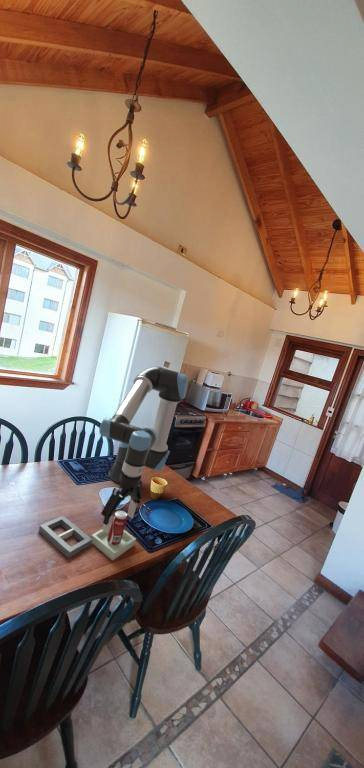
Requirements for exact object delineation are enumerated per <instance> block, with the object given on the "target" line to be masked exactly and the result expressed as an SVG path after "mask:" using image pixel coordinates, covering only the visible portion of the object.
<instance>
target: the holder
mask: <svg viewBox="0 0 364 768" xmlns="http://www.w3.org/2000/svg"><path fill="white" fill-rule="evenodd" d="M59 526H61V527H63V529H64V530H66V531H64V532H62V533H60V534H57V533H55V531H54V530H52V529H55V528H56V527H59ZM38 532H39V533H40V534H41V535H42V536H43V537H45V538H46V539H47V540H48V541H49V542H50V543H51V544H52V545H53V546H54V547H55V548H57V550H58V551H60V552H61V553H62V554H63V555H64V556H65V557H66V558H67V559H70V558H72V557H73V556H74V555H77V554H78V553H80V552H81V551H83V550H85V549H86V548H88V547H90V546H91V545H92V543H91V542H92V539H91V537H90V536H89V535H87V534H86V533H85V532H83V530H82V529H80V528H79V527H78V526H77V525H76V524H74V523H73V522H72V521H70V520H69V519H68V518H67V517H66V516H65V515H61V516H58V517H56V518H52V519H51V520H49V521H46V522H45V523H42V524H40V525H39V528H38ZM71 536H73V537H74V538H75V539H77V540H78V541H79V542H77V543H75V544H74V545H72V546H70V544H68V543H67V542H66V541H65V540H66V539H68V538H70V537H71Z"/></svg>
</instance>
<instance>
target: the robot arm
mask: <svg viewBox="0 0 364 768" xmlns="http://www.w3.org/2000/svg"><path fill="white" fill-rule="evenodd" d="M188 383H189V377H188V376H187V374H183V373H181V372H178V371H174V370H173V369H172V370H171V369H168V368H163V367H162V366H150V367H147V368H146V369H143V370H142V371H140V372H139V373H138V374H136V376H135V377H134V379H133V385H132V386H131V388H130V389H129V391H128V393H127V394H126V396H125V397H124V399H123V400H122V401H121V403H120V405H119V406H118V408H117V409H116V411H115V412H114V414H113V416H112V417H105V418H103V419H102V420H101V423H100V426H99V435H100V436H102V437H104V438H107V439H110V440H114V441H116V442H119V444H118V446H119V447H118V449H117V453H116V456H115V457H116V458H115V461H114V463H113V465H112V466H111V467H110V469H109V471H108V477H110V478H109V479H110V480H111V481H112V482H114V483H116V484H120V485H119V487H118V488H117V487H114V488H113V490H112V493H111V495H110V496H109V498H108V500H107V502H106V503H105V505H104V508H103V509H102V510H101V512H100V515H102V516H103V523H102V527H101V529H102V530H104V531H105V532H106V533H108V532H109V529H110V525H111V523H112V520H113V516H114V514H115V512H116V511H117V508H118V507H119V506H120V504H121V503H122V502H123V501H124V500H126V498H128V497H129V496H130V498H131V500H130V502H129V506H128V509H127V512H126V513H127V517H129V518H130V519H133V518H134V516H135V512H136V508H137V506H138V504H140V503H141V500H142V499H143V490H142V485H143V481H142V475H143V472H144V467H145V468H148V469H151V470H152V471H154V470H155V471H158V472H160V471H162V470H163V468H164V466H165V464H166V462H167V459H168V457H169V455H170V453H171V451H170V450H168V448H169V447H168V444H167V442H168V439H169V438H168V437H169V436H170V435H169V434H170V430H171V427H172V423H173V420H174V416H175V413H176V409H177V406H178V403H181V402H182V400H183V399H185V398H186V395H187V391H188V386H189V385H188ZM153 390H154V391H156V392H158V397H159V405H158V409H157V412H156V415H155V419H154V423H153V427H152V428H151V427H144V428H141V427H139V426H135V425H131V423H132V422H133V419H134V417H135V416H136V414H137V412H138V410H139V409H140V407H141V405H142V403H143V402H144V400H145V398H146V396H147V395H148V393H150V392H151V391H153Z"/></svg>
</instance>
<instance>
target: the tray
mask: <svg viewBox="0 0 364 768" xmlns="http://www.w3.org/2000/svg"><path fill="white" fill-rule="evenodd" d="M110 527H111V525H110ZM109 531H110V529H109ZM108 534H109V532H108V533H106V532H105V531H104V530H102V528H100V529H99V530H98V531H96V532H94V533H93V534H91V537H90V538H91V539H92V542H91V545H93V546H95V547H96V548H97V549H99V551H101V553H103V554H105V556H107V558H109V559H110V560H111V561H114V560H116V559H117V558H119V557H120V556H121V555H122V554H124V553H125V552H127V551H128V550H130V549H131V548H132V547H134V546H135V544H136V541H137V538H136V537H135V536H133V535H132V534H130V533H129V532H128V531H126V530H125V529H124V531H123V535H122V539H121V542H120V544H119V545H117V546H112V545H110V544H109V543H108V541H107V538H108Z"/></svg>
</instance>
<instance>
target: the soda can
mask: <svg viewBox="0 0 364 768" xmlns="http://www.w3.org/2000/svg"><path fill="white" fill-rule="evenodd" d="M112 516H113V517H112V521H111V527H110V531H109V534H108V538H107V541H108V543H109V544H110V545H112V546H117V545H119V544H120V542H121V539H122V535H123V531H124V530H125V527H126V525H127V521H128V515H127V512H126V511H125V510H121V509H119V510H115V511H114V513H113V515H112Z"/></svg>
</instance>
